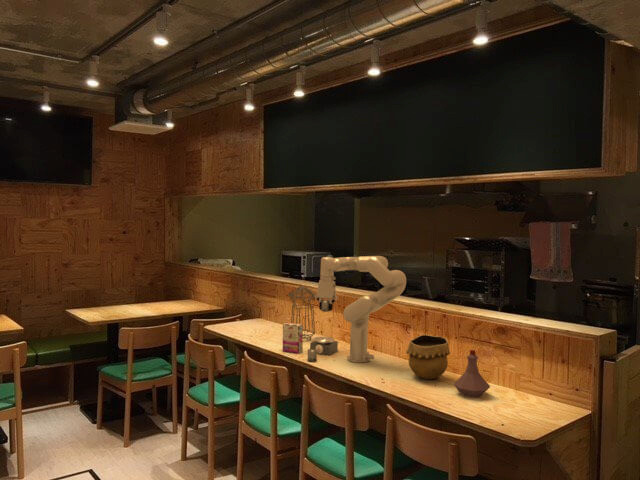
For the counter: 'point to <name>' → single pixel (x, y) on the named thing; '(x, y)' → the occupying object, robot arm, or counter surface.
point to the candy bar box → (293, 338)
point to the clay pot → (428, 356)
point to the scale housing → (325, 347)
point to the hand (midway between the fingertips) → (325, 309)
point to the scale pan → (324, 339)
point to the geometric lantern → (303, 308)
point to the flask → (472, 379)
